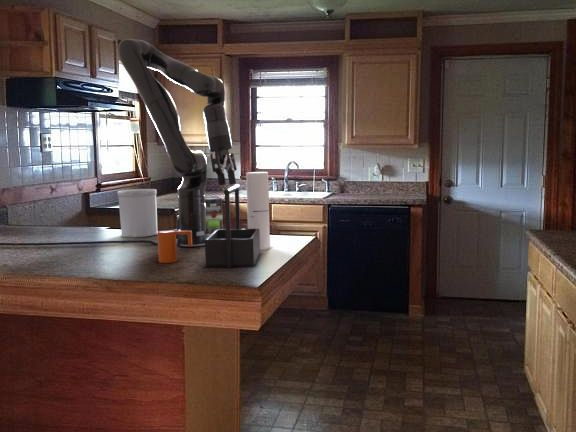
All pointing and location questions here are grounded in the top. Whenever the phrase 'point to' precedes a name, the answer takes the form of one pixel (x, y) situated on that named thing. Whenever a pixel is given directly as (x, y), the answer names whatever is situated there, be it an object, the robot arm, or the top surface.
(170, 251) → the measuring cup
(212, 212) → the coffee can
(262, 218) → the cylindrical container
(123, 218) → the utensil holder
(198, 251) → the top surface
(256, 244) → the basket
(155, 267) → the top surface
